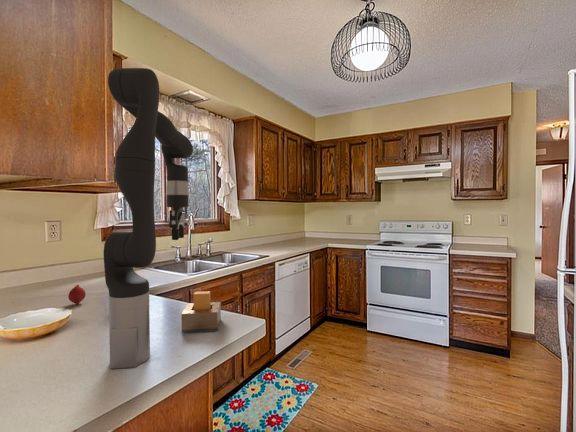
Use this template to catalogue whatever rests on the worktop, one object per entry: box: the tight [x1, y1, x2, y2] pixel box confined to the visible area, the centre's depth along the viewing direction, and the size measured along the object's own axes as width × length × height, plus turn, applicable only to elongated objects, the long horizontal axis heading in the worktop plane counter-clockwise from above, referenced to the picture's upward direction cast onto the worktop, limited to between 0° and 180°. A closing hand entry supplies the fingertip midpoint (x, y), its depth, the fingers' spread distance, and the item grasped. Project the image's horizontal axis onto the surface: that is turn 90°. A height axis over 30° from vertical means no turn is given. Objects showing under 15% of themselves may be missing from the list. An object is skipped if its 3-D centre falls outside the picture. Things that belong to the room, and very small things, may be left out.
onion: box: [67, 284, 87, 305], centre depth 126 cm, size 6×6×8 cm
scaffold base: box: [181, 301, 222, 334], centre depth 102 cm, size 11×11×6 cm
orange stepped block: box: [193, 290, 211, 310], centre depth 102 cm, size 3×5×10 cm, turn 97°
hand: (178, 238), depth 111 cm, fingers open, 8 cm apart
